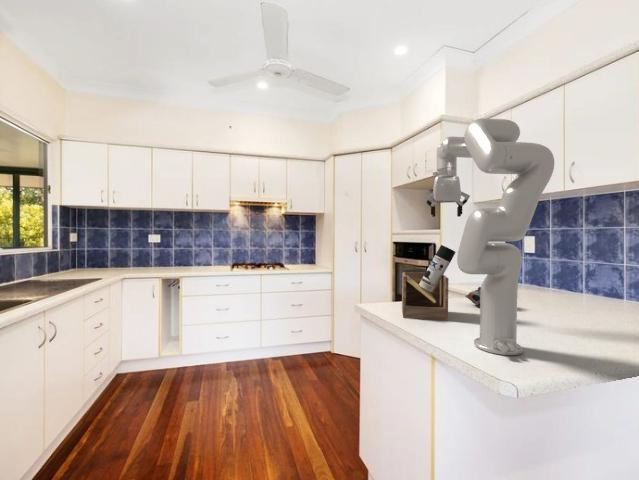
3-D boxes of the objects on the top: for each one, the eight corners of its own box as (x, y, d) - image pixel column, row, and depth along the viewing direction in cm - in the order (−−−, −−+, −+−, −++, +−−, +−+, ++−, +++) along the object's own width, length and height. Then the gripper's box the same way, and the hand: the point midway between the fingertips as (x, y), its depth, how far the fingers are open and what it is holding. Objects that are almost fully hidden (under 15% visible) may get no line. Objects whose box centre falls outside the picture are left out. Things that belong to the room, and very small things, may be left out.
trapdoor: (434, 303, 122) (436, 300, 121) (406, 280, 124) (408, 278, 124) (430, 296, 135) (432, 294, 135) (405, 276, 138) (407, 274, 138)
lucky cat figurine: (479, 302, 155) (494, 279, 152) (497, 316, 145) (514, 293, 141) (459, 295, 149) (475, 272, 146) (477, 310, 139) (494, 285, 135)
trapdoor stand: (447, 321, 119) (448, 278, 119) (402, 317, 123) (403, 276, 123) (441, 311, 136) (441, 273, 135) (401, 308, 140) (402, 272, 140)
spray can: (415, 283, 131) (437, 243, 129) (426, 288, 133) (448, 249, 131) (424, 290, 125) (447, 247, 122) (436, 295, 127) (459, 253, 125)
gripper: (425, 173, 120) (424, 215, 120) (472, 171, 117) (471, 215, 116) (423, 177, 128) (422, 217, 128) (467, 175, 124) (466, 217, 124)
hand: (446, 216), depth 122 cm, fingers open, 9 cm apart
